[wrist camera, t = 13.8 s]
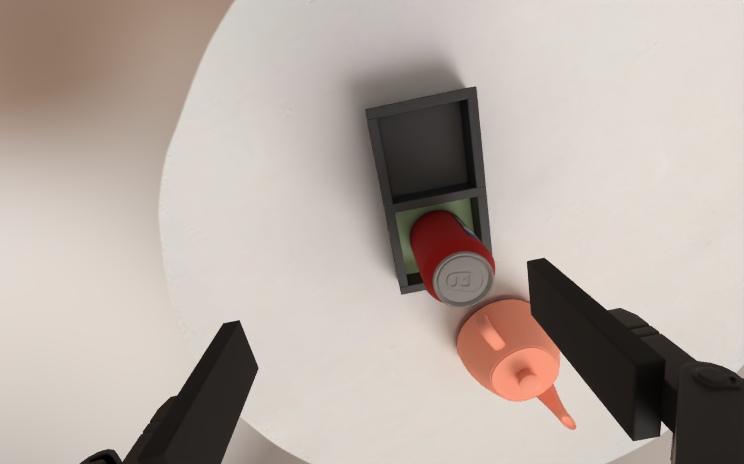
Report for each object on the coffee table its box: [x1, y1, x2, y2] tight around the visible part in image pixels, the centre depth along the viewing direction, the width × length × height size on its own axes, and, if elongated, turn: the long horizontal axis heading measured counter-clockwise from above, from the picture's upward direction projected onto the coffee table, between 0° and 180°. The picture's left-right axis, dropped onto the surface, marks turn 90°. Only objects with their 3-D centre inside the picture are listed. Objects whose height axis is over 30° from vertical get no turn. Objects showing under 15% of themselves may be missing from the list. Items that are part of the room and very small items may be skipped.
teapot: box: [457, 299, 576, 430], centre depth 44 cm, size 12×18×10 cm
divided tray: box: [365, 87, 492, 294], centre depth 40 cm, size 21×11×4 cm, turn 11°
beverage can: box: [410, 210, 495, 308], centre depth 37 cm, size 7×7×12 cm
